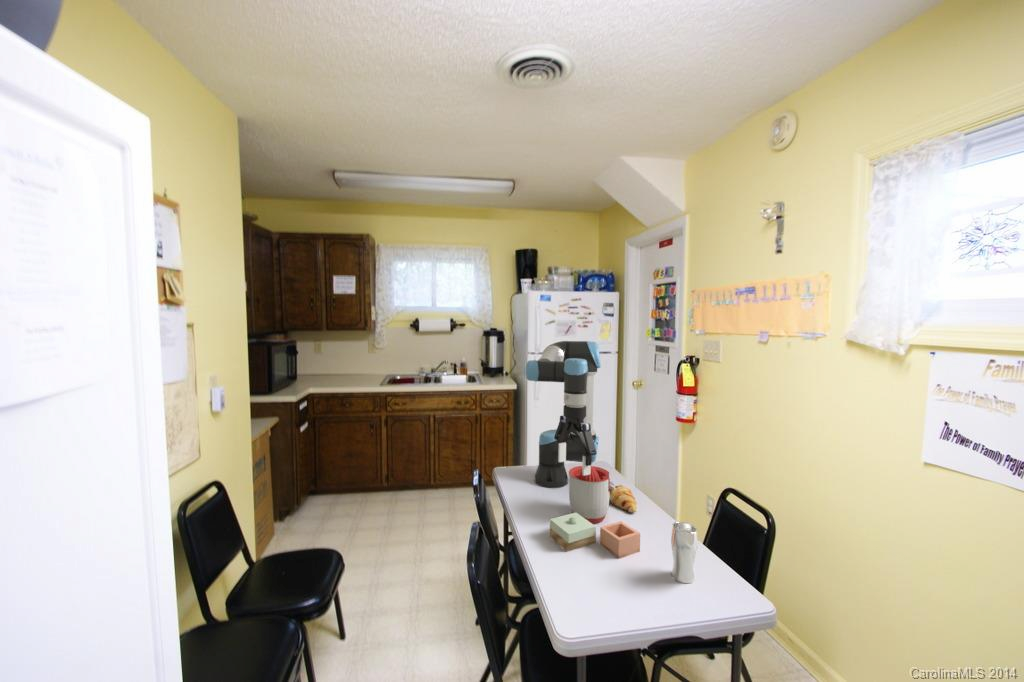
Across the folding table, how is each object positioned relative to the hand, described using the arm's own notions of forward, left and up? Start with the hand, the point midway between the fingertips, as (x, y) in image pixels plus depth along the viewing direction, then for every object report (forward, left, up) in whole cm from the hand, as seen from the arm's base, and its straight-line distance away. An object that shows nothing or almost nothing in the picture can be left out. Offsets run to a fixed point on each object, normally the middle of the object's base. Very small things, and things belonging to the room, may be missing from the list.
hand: (573, 467), depth 139 cm
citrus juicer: (-10, +16, -25) cm, 32 cm away
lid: (0, 0, -22) cm, 22 cm away
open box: (+11, +11, -25) cm, 29 cm away
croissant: (-14, +35, -26) cm, 45 cm away
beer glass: (+31, +17, -25) cm, 43 cm away
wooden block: (0, 0, -25) cm, 25 cm away
